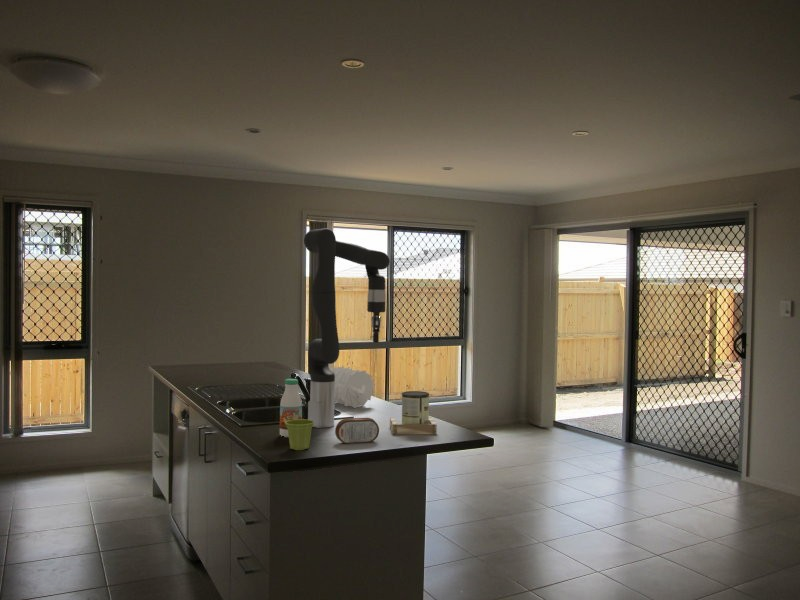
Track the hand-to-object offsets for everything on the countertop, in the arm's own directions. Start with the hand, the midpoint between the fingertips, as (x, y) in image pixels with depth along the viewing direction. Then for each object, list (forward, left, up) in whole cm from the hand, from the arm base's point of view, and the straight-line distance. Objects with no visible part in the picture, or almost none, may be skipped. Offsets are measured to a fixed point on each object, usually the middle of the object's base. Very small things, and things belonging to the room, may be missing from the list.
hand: (375, 342), depth 269 cm
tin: (-40, -28, -31) cm, 58 cm away
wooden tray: (-10, -29, -31) cm, 43 cm away
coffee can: (-10, -29, -31) cm, 44 cm away
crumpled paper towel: (+13, +29, -31) cm, 44 cm away
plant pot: (-59, -20, -31) cm, 70 cm away
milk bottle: (-48, -3, -31) cm, 57 cm away
